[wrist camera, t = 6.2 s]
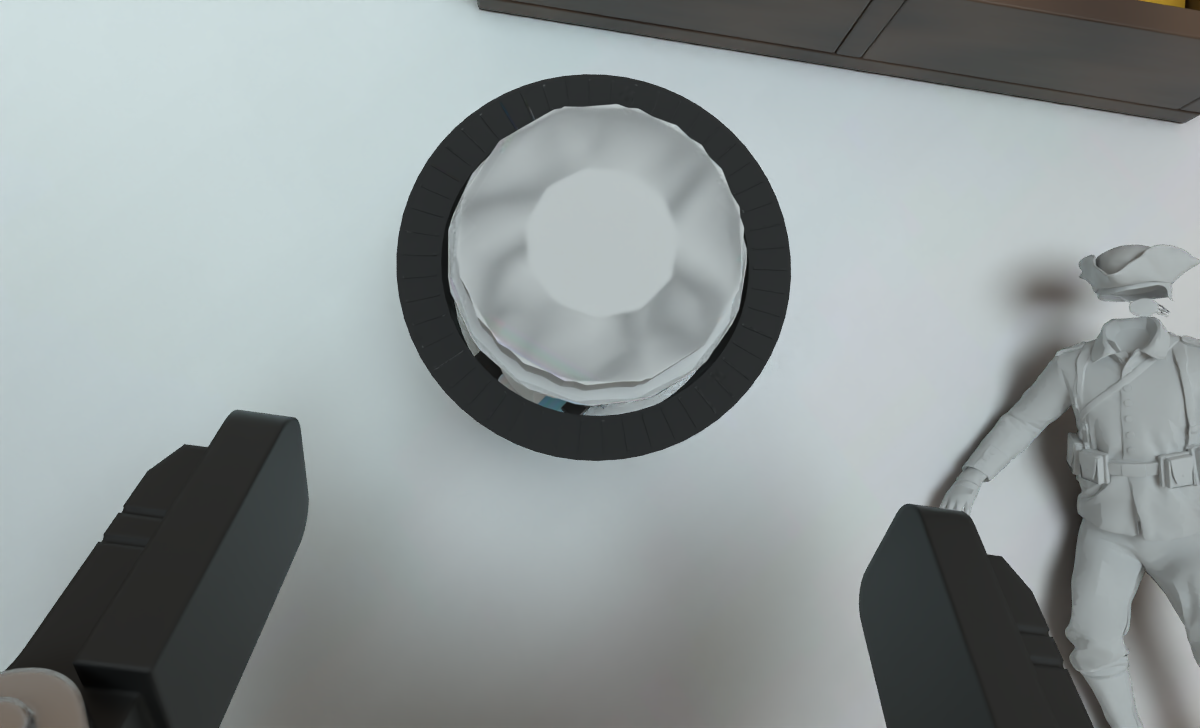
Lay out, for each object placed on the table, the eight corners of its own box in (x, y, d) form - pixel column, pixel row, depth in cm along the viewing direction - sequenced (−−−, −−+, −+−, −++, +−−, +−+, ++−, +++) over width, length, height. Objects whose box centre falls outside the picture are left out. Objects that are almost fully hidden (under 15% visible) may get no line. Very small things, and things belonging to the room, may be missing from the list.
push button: (610, 168, 20) (672, -110, 10) (760, 315, 20) (968, 174, 10) (417, 352, 19) (287, 237, 10) (573, 507, 19) (604, 554, 9)
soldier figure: (959, 765, 20) (894, 300, 18) (1003, 655, 24) (954, 255, 21) (1395, 883, 15) (1391, 258, 13) (1367, 721, 19) (1360, 210, 16)
